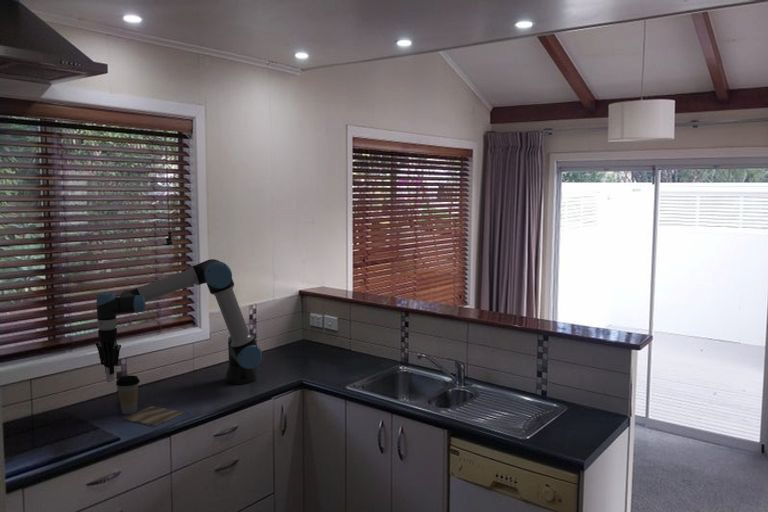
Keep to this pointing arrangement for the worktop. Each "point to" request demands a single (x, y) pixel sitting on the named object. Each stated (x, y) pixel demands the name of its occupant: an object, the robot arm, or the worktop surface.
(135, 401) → the coffee cup
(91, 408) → the worktop surface
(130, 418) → the brown striped mat
